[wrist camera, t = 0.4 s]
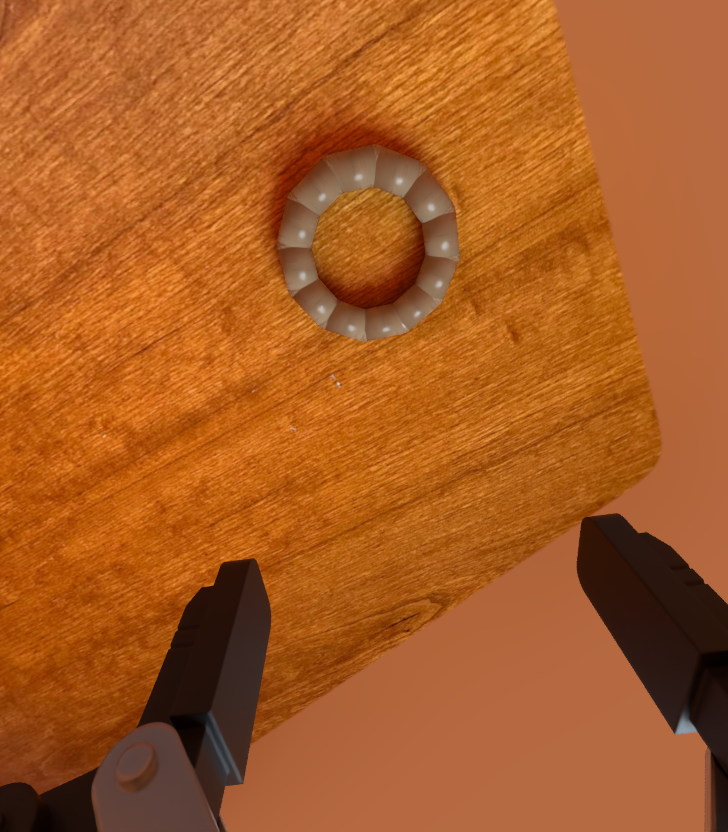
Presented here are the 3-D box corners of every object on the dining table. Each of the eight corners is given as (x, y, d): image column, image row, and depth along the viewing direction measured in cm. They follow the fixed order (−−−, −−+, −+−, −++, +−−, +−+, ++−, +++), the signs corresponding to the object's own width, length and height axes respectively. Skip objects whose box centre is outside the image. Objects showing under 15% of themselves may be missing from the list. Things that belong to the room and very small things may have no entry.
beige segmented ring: (244, 241, 24) (237, 243, 22) (377, 103, 21) (380, 93, 20) (360, 366, 27) (361, 375, 25) (487, 258, 25) (497, 260, 23)
